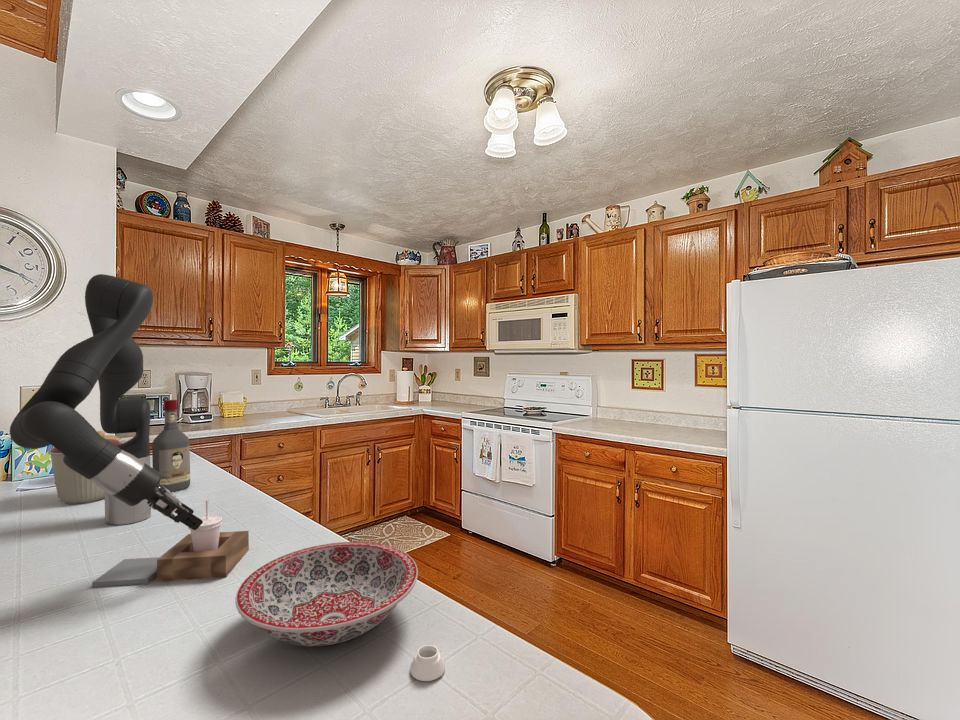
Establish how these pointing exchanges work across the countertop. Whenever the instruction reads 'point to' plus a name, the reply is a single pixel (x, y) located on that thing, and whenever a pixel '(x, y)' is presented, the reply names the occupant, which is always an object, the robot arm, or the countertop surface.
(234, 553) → the frame
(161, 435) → the liquor
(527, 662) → the countertop surface
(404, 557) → the ceramic bowl
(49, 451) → the canister
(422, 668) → the lidless jar
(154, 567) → the slate coaster
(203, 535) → the smoothie
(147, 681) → the countertop surface
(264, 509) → the countertop surface
